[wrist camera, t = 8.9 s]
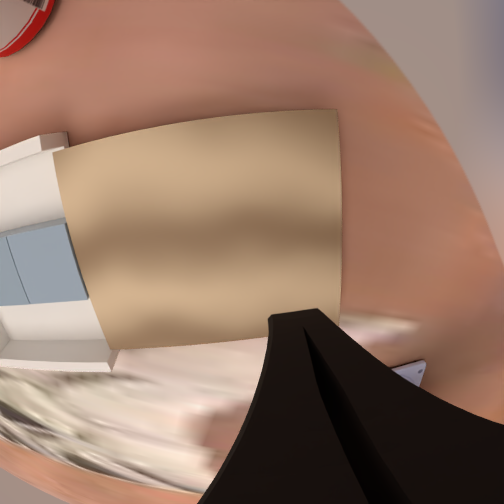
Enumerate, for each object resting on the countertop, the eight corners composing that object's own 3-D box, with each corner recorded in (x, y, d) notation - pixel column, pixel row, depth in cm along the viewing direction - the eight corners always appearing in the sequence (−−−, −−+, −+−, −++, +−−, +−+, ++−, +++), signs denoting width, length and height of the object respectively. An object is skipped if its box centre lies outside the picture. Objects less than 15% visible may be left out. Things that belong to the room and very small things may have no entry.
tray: (122, 342, 20) (111, 371, 17) (11, 343, 20) (-5, 365, 17) (66, 131, 14) (39, 135, 12) (-47, 176, 14) (-73, 187, 11)
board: (329, 307, 20) (339, 325, 18) (118, 330, 19) (110, 349, 18) (324, 110, 15) (337, 109, 13) (69, 148, 15) (52, 152, 13)
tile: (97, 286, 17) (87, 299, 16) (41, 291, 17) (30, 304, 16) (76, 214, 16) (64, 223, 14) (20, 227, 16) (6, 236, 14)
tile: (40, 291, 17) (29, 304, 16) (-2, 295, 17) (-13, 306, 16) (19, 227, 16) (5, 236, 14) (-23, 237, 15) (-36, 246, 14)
